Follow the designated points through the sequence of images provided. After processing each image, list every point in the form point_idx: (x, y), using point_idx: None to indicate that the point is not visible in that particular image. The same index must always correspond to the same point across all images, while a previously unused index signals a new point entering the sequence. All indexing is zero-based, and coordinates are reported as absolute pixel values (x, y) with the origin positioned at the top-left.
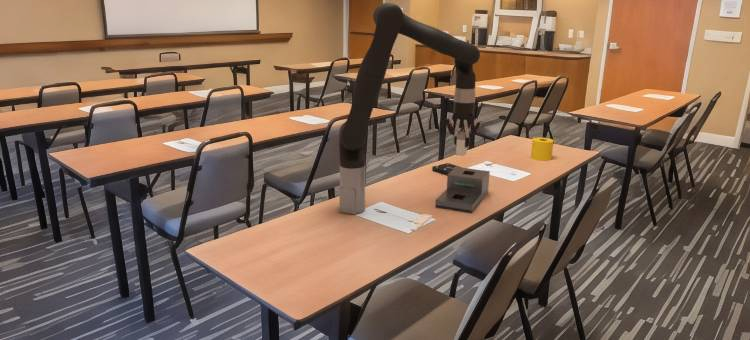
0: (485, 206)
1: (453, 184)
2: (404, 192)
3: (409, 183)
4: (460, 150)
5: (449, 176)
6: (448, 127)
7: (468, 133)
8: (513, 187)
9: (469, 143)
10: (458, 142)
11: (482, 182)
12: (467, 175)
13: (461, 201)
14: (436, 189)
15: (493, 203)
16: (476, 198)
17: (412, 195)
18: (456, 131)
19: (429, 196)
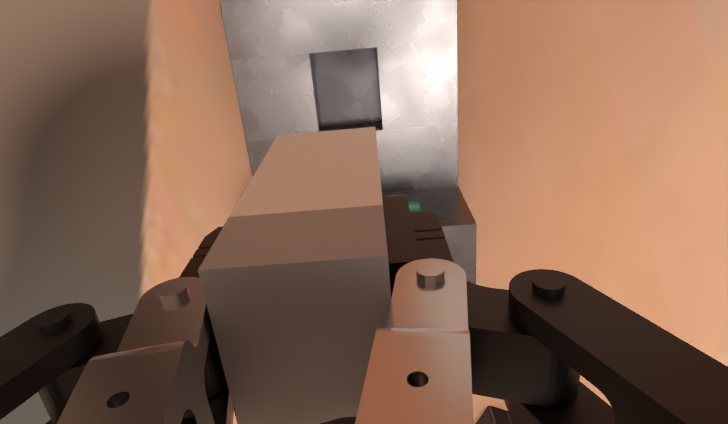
0: (214, 130)
1: (423, 201)
2: (686, 108)
3: (689, 251)
4: (316, 150)
5: (460, 220)
6: (691, 366)
7: (131, 333)
8: None
9: None
10: (347, 187)
11: None
12: None
13: (302, 21)
14: (529, 237)
15: (201, 191)
16: (250, 121)
17: (630, 85)
18: (426, 323)
19: (533, 120)
